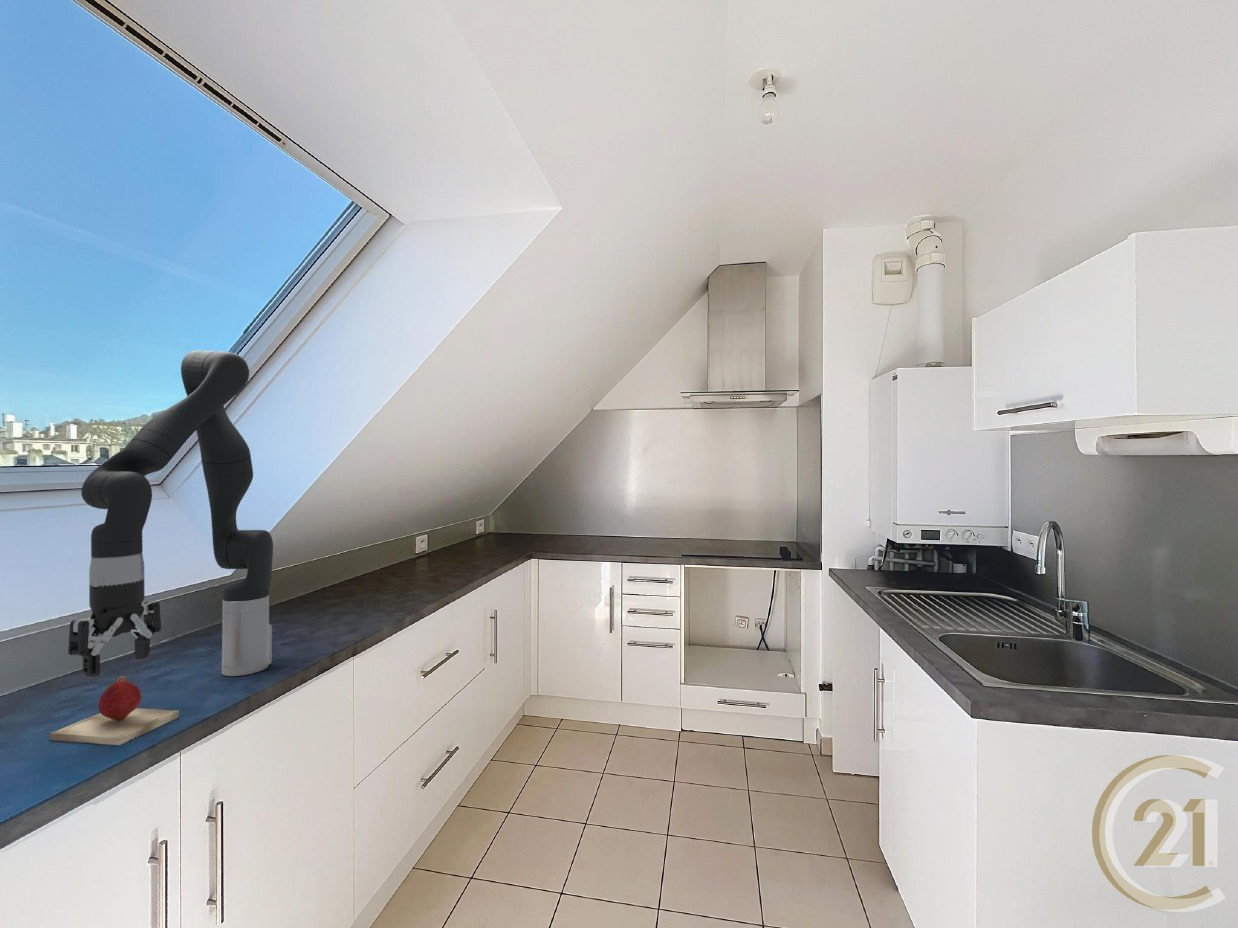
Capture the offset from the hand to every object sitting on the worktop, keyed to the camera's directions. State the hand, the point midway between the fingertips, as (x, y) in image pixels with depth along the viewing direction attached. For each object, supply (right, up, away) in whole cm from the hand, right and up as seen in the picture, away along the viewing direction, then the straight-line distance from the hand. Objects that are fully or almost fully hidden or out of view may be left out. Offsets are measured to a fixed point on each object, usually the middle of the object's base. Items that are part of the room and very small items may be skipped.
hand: (117, 666), depth 101 cm
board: (0, -11, -1) cm, 11 cm away
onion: (+1, -10, 0) cm, 10 cm away
